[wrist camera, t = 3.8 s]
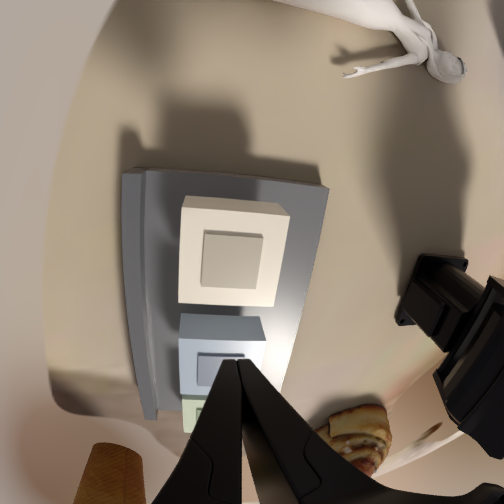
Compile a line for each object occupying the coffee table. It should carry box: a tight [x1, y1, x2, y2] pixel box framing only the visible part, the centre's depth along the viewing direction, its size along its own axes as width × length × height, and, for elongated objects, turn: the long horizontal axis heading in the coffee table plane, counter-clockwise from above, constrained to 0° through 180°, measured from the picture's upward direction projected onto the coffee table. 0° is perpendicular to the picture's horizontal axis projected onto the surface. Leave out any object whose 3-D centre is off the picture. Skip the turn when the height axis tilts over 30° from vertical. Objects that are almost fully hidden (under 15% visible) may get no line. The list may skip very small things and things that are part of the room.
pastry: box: [314, 404, 392, 477], centre depth 27 cm, size 13×15×8 cm
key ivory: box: [178, 195, 290, 307], centre depth 14 cm, size 4×4×2 cm
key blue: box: [179, 313, 266, 395], centre depth 16 cm, size 4×4×2 cm
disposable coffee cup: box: [73, 443, 146, 504], centre depth 21 cm, size 10×10×12 cm
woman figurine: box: [273, 0, 467, 84], centre depth 11 cm, size 12×4×18 cm
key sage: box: [182, 394, 208, 433], centre depth 20 cm, size 4×4×2 cm
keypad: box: [121, 167, 329, 420], centre depth 19 cm, size 11×19×2 cm, turn 172°
